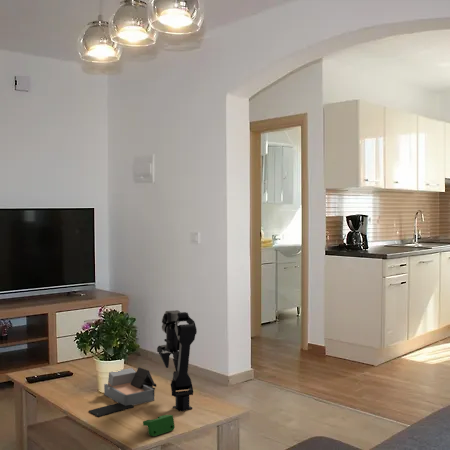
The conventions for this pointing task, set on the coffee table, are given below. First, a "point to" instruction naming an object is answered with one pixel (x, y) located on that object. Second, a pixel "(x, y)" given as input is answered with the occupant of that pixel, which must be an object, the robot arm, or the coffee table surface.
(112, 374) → the flap
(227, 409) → the coffee table surface
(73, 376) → the coffee table surface
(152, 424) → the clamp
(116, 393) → the flap frame
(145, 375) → the phone stand
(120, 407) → the cell phone
